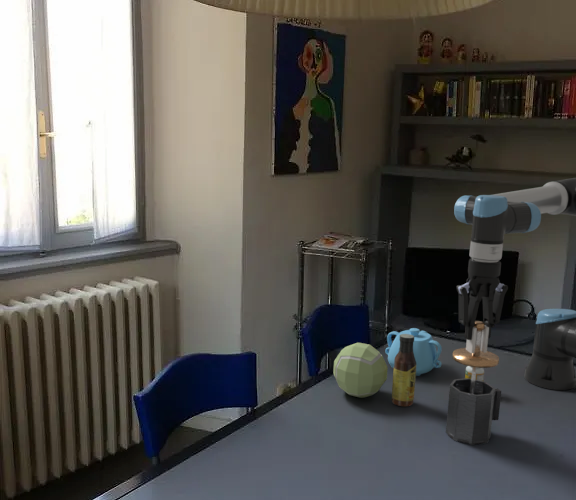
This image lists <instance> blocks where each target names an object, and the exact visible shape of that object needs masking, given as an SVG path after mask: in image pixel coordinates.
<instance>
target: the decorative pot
mask: <svg viewBox="0 0 576 500" xmlns="http://www.w3.org/2000/svg"><path fill="white" fill-rule="evenodd" d="M401 334H410V335H413V336H414V342H413V353H414V357H415V360H416V377H420V376H421V375H424V374H426V373H429V372H431V371H432V370H433V369H434V368H435V369H440V368H441V367H442V361H441V360H439V358H440V355H441V354H442V350H443V349H442V345H441V344H440V343H439V341H437V340H434V339H433V337H432V335H431V334H430V333H428V332H427V331H425V330H420V329H419V328H416V327H412V328H409V329H406V330H402V331H400V332H398V331H396V330H395V331H394V330H393V331H391V332H389V333H388V334H387V336H386V341H387V345H388V346H387V347H386V348H385V354H386V355H387V362H388V365H390V367H391V368H392V369H394V360H395V357H396V355H397V354H398V352H399V351H400V350H399V348H400V335H401ZM394 335H395V338H394V340H393V341H392V336H394Z"/></svg>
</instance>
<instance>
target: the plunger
mask: <svg viewBox="0 0 576 500" xmlns="http://www.w3.org/2000/svg"><path fill="white" fill-rule="evenodd" d="M474 327H476V328H477V332H476V343H475V353H473V354H472V353H470V352H468V351H467V350H466V347H460V348H456V349H454V350H453V352H452V359H453V360H454V361H455V362H457V363H458V364H460V365H463V366H466V367H467V366H471V367H472V377H471V387H470V394H474V389H475V379H476V369H477V367H478V368H483V369H485V368H486V369H487V368H488V369H489V368H495V367H496V366H498V365H499V363H500V357H499V356H498V355H497V354H496V353H494V352H491V351H490V350H489V351H488V350H487V352H486V353H484V352H482V351H480V350H481V340H482V330H484V327H485V323H484V322H483V321H480V320H475V325H474Z"/></svg>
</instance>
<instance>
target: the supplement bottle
mask: <svg viewBox="0 0 576 500" xmlns="http://www.w3.org/2000/svg"><path fill="white" fill-rule="evenodd" d="M464 373H465V375H464V379H466V378H470V379H471V377H472V367H471V366H467V365H466V367H465V372H464ZM475 380H479V381H484V380H485V368H478V367H477V369H476V379H475ZM484 382H485V381H484Z"/></svg>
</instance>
